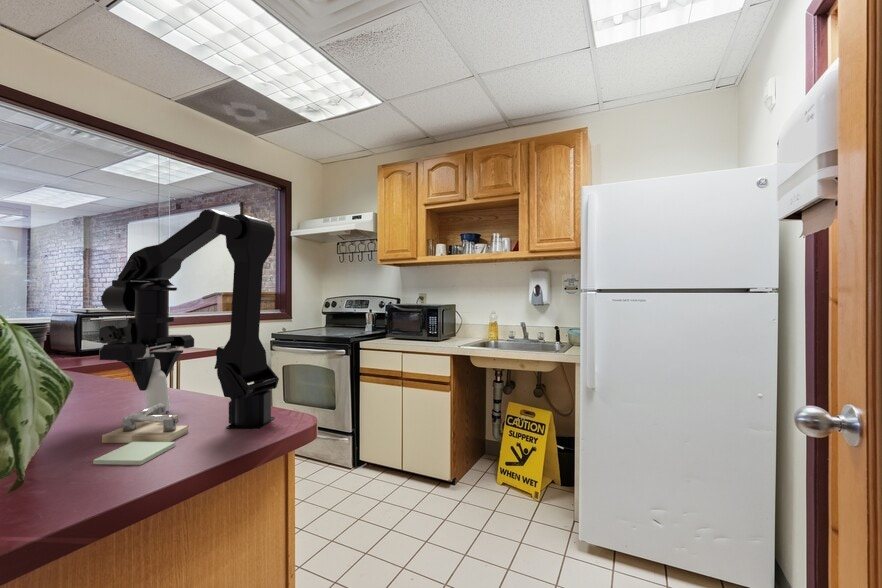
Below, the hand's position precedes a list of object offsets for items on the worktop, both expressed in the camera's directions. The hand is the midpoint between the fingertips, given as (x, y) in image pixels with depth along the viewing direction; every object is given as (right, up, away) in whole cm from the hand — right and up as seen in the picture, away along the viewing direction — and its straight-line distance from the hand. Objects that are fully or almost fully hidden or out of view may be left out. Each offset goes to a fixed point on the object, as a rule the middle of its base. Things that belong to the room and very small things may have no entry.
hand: (151, 387), depth 81 cm
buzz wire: (+10, -5, -11) cm, 16 cm away
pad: (+14, -5, -21) cm, 26 cm away
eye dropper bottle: (+1, -5, +1) cm, 5 cm away
